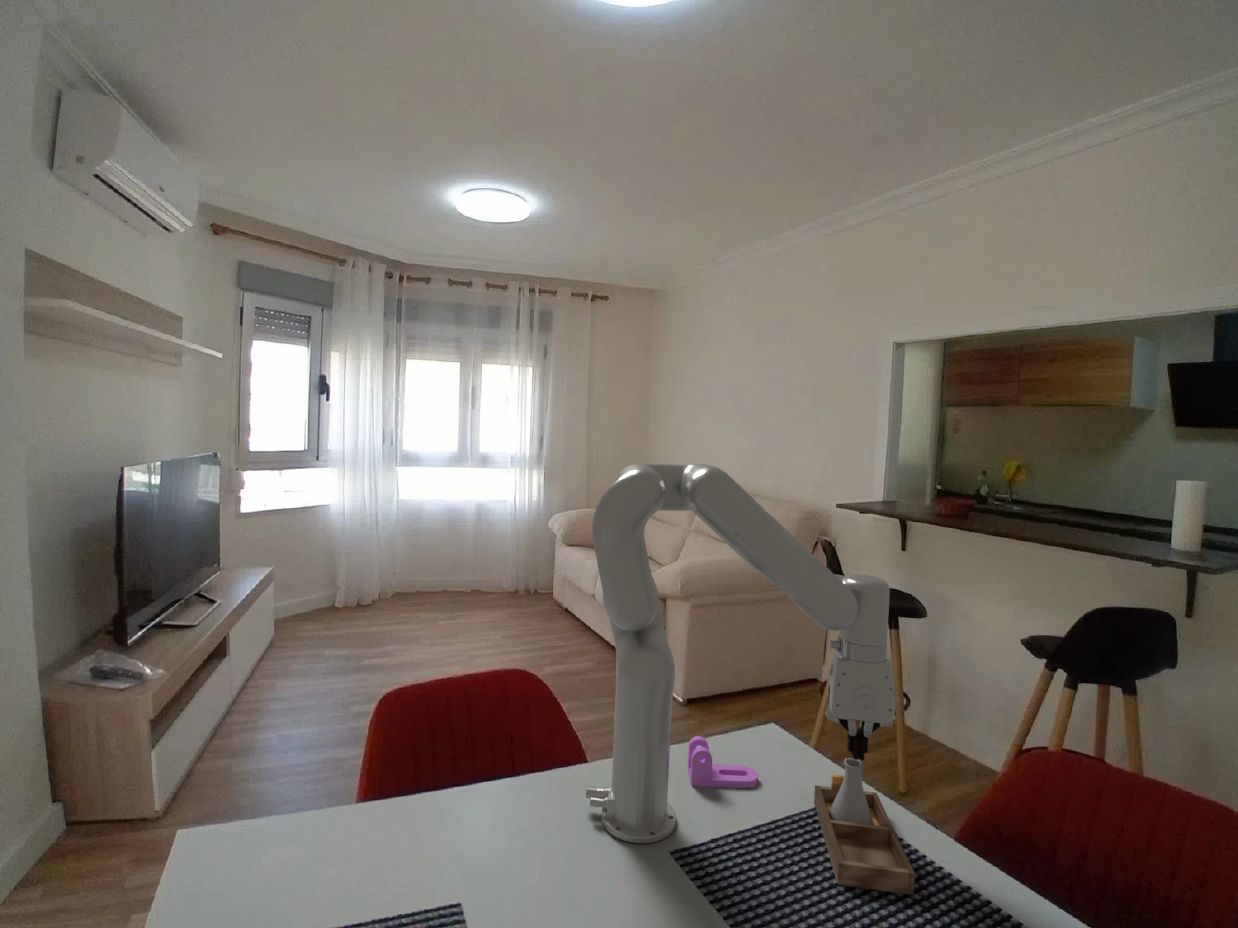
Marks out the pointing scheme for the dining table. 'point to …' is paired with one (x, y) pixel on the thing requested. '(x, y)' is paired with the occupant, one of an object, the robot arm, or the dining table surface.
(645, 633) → the robot arm
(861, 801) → the flask
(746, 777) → the bracket
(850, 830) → the divided wooden tray
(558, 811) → the dining table surface
